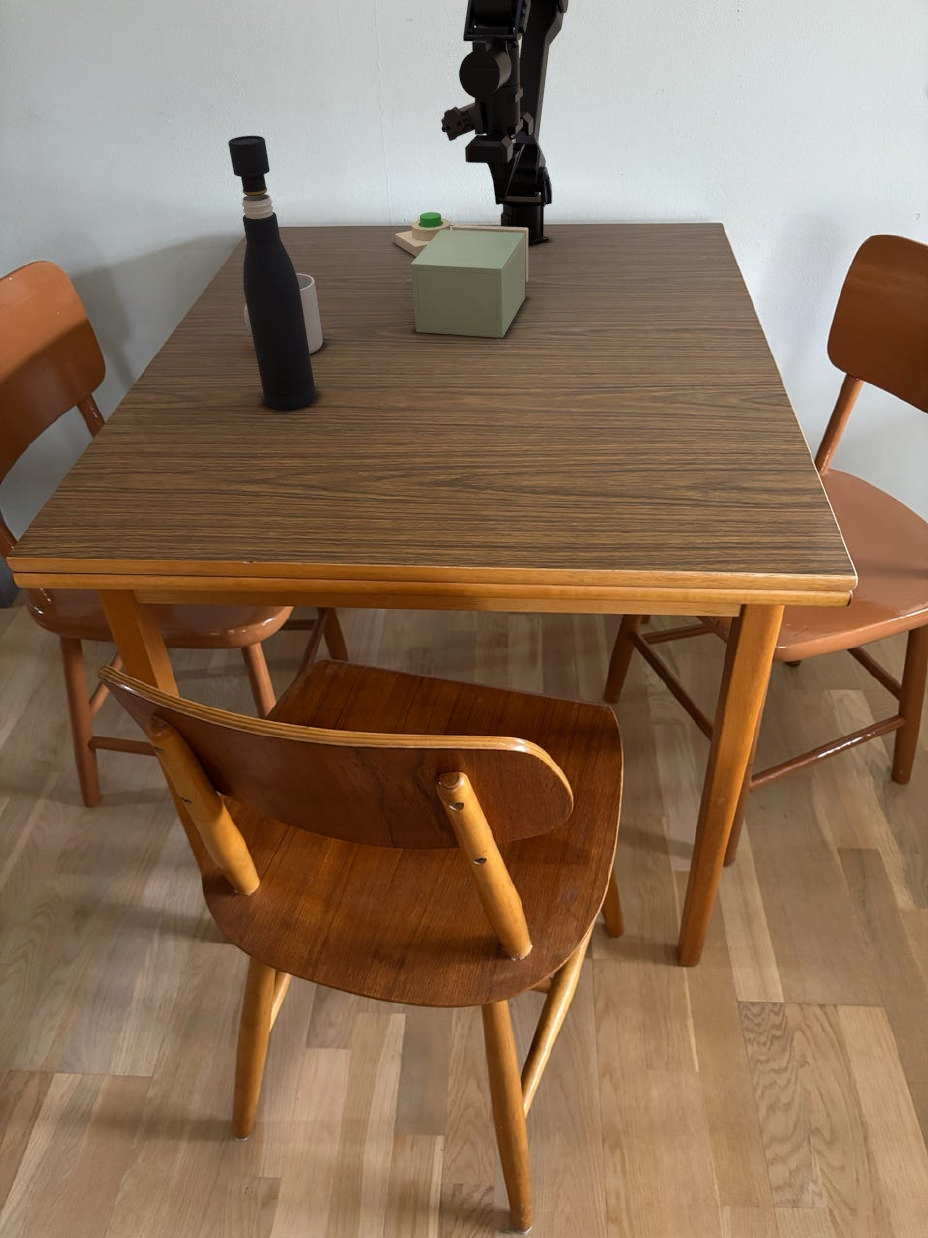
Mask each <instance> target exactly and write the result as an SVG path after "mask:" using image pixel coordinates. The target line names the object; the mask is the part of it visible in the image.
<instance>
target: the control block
mask: <svg viewBox="0 0 928 1238" xmlns="http://www.w3.org/2000/svg"><path fill="white" fill-rule="evenodd" d="M441 223H442V225H441V226H438V227H433V228H425V227H421V226H420V218H419V219H417V220H414V221H413V222H411V226H410V227H411V230H408V231H403V232H398V233H395V234H394V237H395V244H396V246H399V247H400V248H402V249H403V250H405V251H406V252H408V253H409V254H410V255H412V256H414V257H415V258H416V257H417V256H418V255H419V254H420V253H421V252H422V251H423V249H424V248H425V247H426V246H427V245H428V244H429V242H430V241H431V240H432V239H433V238H434V237H435V235H436V234H437V233H438V232H439V231H440V230H441V229H443V230H452V227H453V226H454V225H451V221H450V220H448V219H447V218H443V217H441Z"/></svg>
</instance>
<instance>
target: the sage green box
mask: <svg viewBox="0 0 928 1238" xmlns="http://www.w3.org/2000/svg"><path fill="white" fill-rule="evenodd" d="M410 270H411V271H410V272H411V283H412V297H413V311H414V323H415V332H416V333H426V334H437V335H438V334H439V335H454V336H455V335H456V336H468V337H469V336H470V337H483V338H484V337H485V338H486V337H487V338H497V339H503V338H504V336H505V334H506V333H507V331H508V329H509V327H510V326H511V324H512V322H513V320H514V319H515V317H516V315H517V313H518V312H519V309H520V308H521V306H522V304H523V303H524V301H525V299H526V283H525V233H513V232H490V231H467V230H443V229H441V230H440V231H439V232H438V233H437V234H436V235H435V237H434V238H433V239H432V240H431V241H430V242H429V244H428V245H427V246H426V247H425V248H424V249H423V251H422V252H421V253H420V254H419V255H418V256H417V257H415V258H414V260H413V261H412V262H411V263H410Z"/></svg>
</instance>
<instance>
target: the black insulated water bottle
mask: <svg viewBox="0 0 928 1238" xmlns="http://www.w3.org/2000/svg"><path fill="white" fill-rule="evenodd" d="M227 144H228V149H229V155H230V160H231V166H232V171H233V175H234V176H235V177H240V180H241V185H242V194H244V195H245V196H244V197H242V203H241V205H242V207H243V210H242V212H243V213H244V215H243V216H242V223H243V228H244V234H245V239H246V240H245V241H246V244H245V250H244V251H245V252H244V257H243V258H244V259H243V269H242V275H243V276H242V284H243V285H242V287H243V294H244V299H245V305H246V304H247V309H248V315H249V320H250V325H251V330H252V335H251V336H252V340H253V341H252V342H253V345H254V351H255V356H256V361H257V367H258V372H259V378H260V383H261V387H262V393H263V399H264V402H265V405H266V406H268V407H269V408H271V409H273V410H278V411H293V410H297V409H298V410H299V409H302V408H304V407H307V406H309V405H310V404H312V403H313V402H314V401H315V400H316V397H317V393H316V387H315V386H316V385H315V380H314V374H313V368H312V367H313V366H312V360H311V354H310V353H309V346H308V340H307V333H306V327H305V320H304V314H303V307H302V300H301V294H300V287H299V282H298V279H297V276H296V274H297V273H296V270H295V267H294V265H293V262H292V259H291V257H290V256H289V254H288V253H289V252H288V251H287V249H286V247H285V245H284V244H283V242H282V239H281V236H280V235H281V234H280V229H279V224H278V216H277V213H276V212H275V211H273V210H274V206H273V205H272V203H273V200H272V199H271V195H269V194H267V192H268V187H267V184H266V179H265V175H266V174H269V173H270V171H271V170H270V164H269V163H270V162H269V158H268V157H269V156H268V150H267V144H266V139H265V137H263V136H261V135H242V136H237V137H234V138H231V139H229V141H228V143H227Z"/></svg>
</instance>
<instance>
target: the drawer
mask: <svg viewBox="0 0 928 1238" xmlns="http://www.w3.org/2000/svg"><path fill="white" fill-rule="evenodd" d="M452 226H453V227H452V230H467V231H490V232H513V233H525V284H526V283H528V281H529V245H528V228H523V227H501V226H496V225H495V226H494V225H474V224H473V225H471V224H470V225H469V224H453V225H452Z"/></svg>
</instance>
